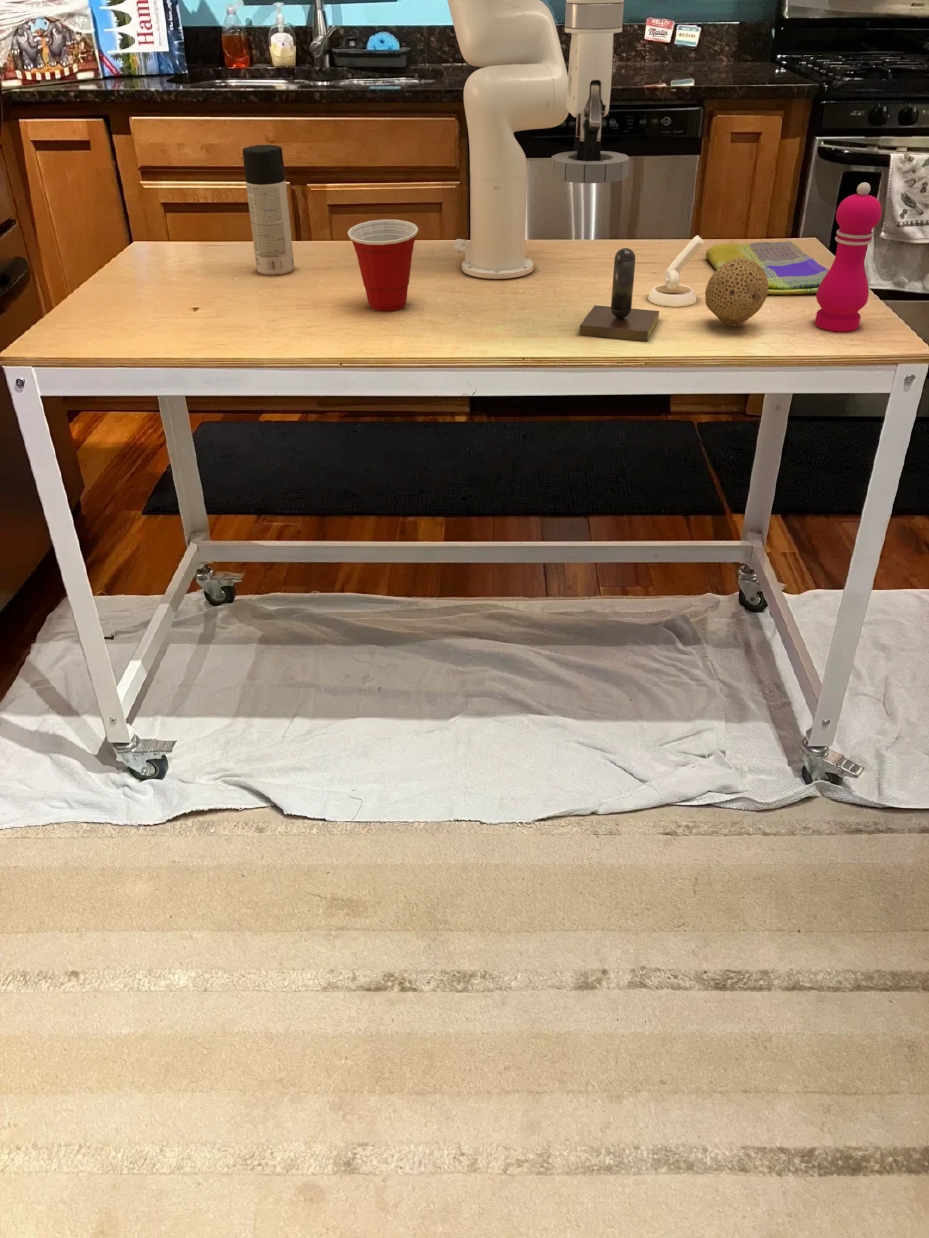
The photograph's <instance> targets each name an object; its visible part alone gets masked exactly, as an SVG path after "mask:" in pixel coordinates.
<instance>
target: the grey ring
mask: <svg viewBox="0 0 929 1238" xmlns="http://www.w3.org/2000/svg"><path fill="white" fill-rule="evenodd" d="M630 161H631V159H630V156H628V155H627V154H626V153H621V152H616V151H609V150H608V151H606V150H601V153H600V161H578V160H577V151H574V150H573V151H563V152H559V153H556V154H554V155H552V156H551V165H550V166H551V168H550V169H551V170H550V175H551V178H552V179H555V180H558V181H561V182H566V183H575V184H608V183H616V182H620V181H624V180H625V179H627V178H629V175H630Z"/></svg>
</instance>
